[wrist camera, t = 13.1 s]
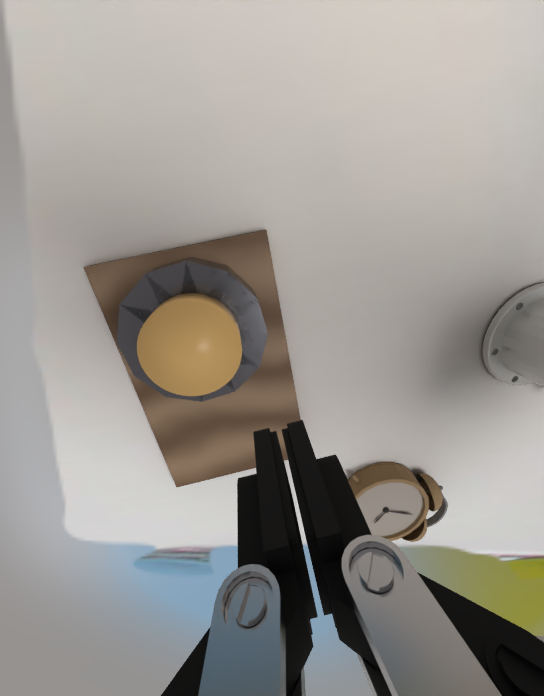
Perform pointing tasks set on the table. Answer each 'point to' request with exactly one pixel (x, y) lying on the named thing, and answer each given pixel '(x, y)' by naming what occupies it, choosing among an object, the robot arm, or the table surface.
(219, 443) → the mount
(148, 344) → the cap
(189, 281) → the grey faceted ring
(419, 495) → the alarm clock
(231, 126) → the table surface
